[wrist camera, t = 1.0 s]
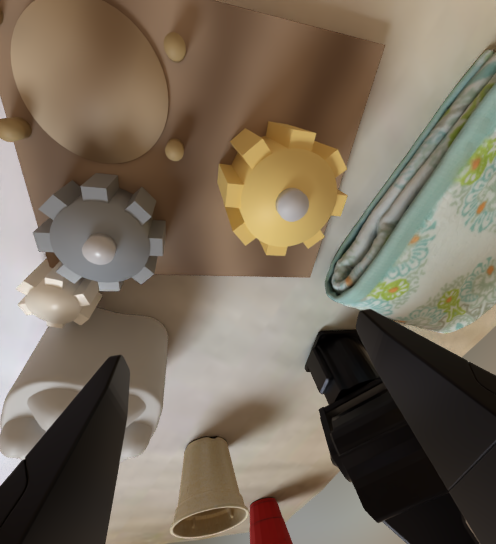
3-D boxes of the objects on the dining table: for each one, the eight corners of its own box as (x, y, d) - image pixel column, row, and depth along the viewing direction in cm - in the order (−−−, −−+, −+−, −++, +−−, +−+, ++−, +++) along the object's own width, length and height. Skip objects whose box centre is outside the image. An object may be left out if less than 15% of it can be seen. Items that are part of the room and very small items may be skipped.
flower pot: (201, 423, 36) (204, 504, 28) (250, 437, 40) (264, 510, 33) (159, 456, 38) (153, 538, 31) (210, 465, 43) (215, 538, 36)
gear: (165, 179, 17) (160, 198, 14) (166, 268, 20) (162, 299, 17) (43, 167, 15) (7, 185, 12) (67, 266, 19) (44, 299, 16)
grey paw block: (178, 321, 25) (174, 410, 18) (145, 402, 31) (133, 493, 24) (50, 297, 21) (-18, 398, 14) (39, 394, 27) (-13, 500, 20)
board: (373, 48, 16) (401, 41, 14) (304, 270, 25) (316, 286, 22) (-27, -54, 12) (-76, -88, 9) (57, 263, 20) (42, 283, 18)
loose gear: (326, 130, 17) (376, 143, 13) (300, 227, 21) (332, 265, 16) (222, 113, 16) (237, 121, 11) (213, 221, 19) (221, 261, 15)
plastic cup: (277, 509, 62) (294, 588, 52) (232, 515, 58) (242, 601, 48) (295, 489, 56) (318, 572, 47) (247, 494, 53) (261, 585, 43)
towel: (598, 151, 24) (685, 163, 20) (425, 319, 33) (459, 352, 29) (495, 15, 17) (596, -11, 13) (309, 277, 26) (333, 312, 22)
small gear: (87, 250, 19) (67, 274, 16) (115, 296, 21) (100, 324, 19) (26, 260, 19) (-3, 286, 17) (61, 305, 22) (40, 334, 19)
